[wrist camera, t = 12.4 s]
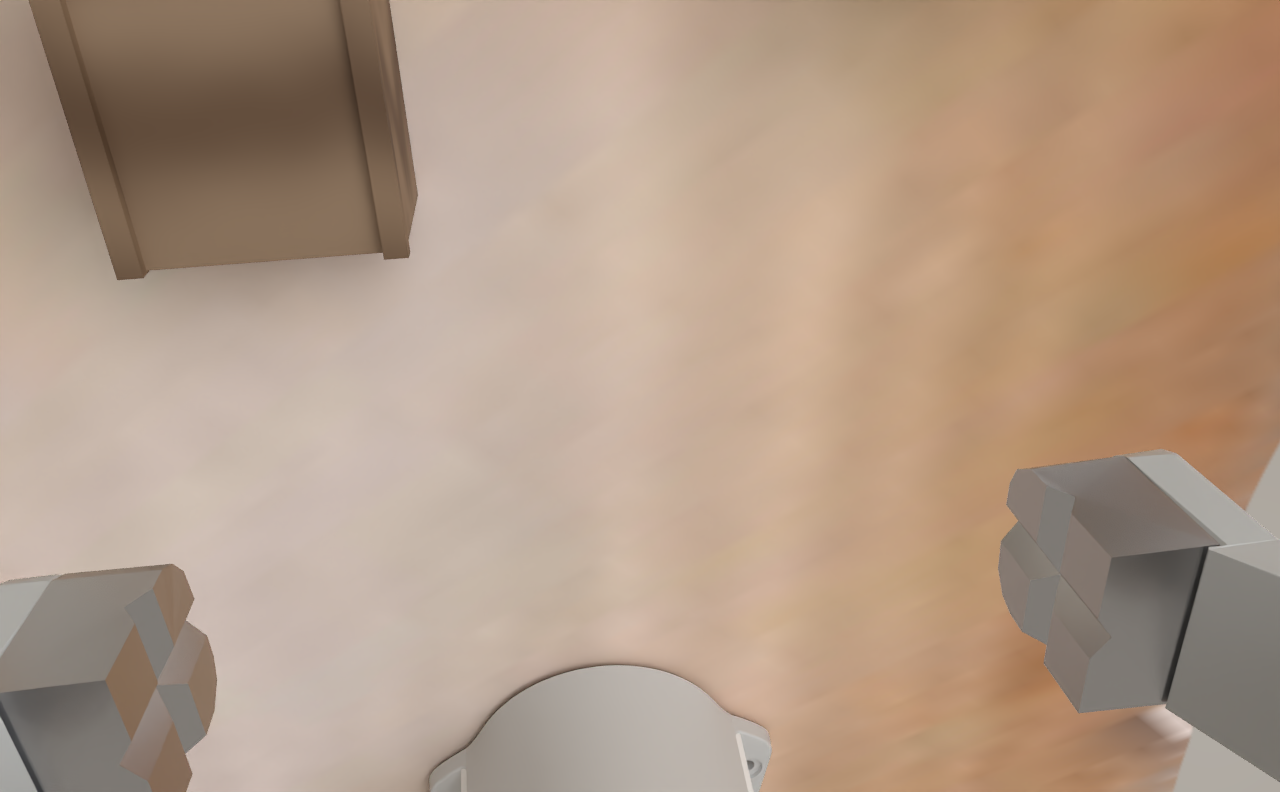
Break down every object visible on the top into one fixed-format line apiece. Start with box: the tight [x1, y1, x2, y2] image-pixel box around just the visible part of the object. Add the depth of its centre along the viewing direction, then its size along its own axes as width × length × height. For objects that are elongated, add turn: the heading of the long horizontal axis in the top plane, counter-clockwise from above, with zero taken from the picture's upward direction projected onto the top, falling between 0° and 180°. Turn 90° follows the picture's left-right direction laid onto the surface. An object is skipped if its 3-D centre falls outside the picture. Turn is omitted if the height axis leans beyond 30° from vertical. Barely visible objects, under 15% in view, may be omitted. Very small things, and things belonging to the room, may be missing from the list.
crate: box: [29, 0, 418, 280], centre depth 32 cm, size 9×9×6 cm
